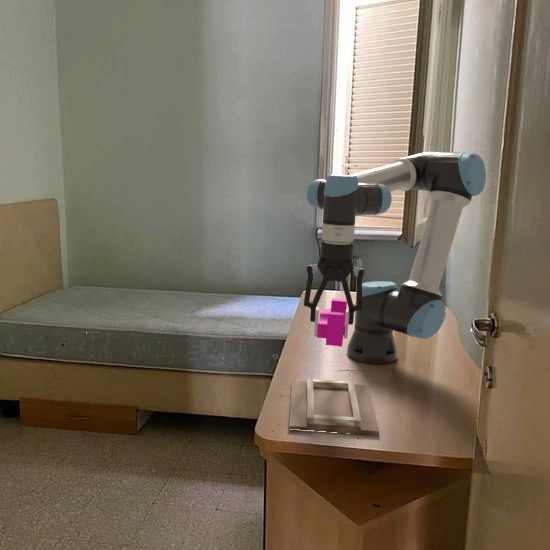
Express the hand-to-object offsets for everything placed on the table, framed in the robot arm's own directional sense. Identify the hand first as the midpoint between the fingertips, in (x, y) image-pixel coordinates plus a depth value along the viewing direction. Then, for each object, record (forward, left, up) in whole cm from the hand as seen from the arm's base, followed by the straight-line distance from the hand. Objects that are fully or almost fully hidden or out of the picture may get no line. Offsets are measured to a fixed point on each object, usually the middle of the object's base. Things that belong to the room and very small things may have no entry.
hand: (330, 335), depth 130 cm
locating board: (-1, +3, -18) cm, 18 cm away
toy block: (0, -1, 0) cm, 1 cm away
